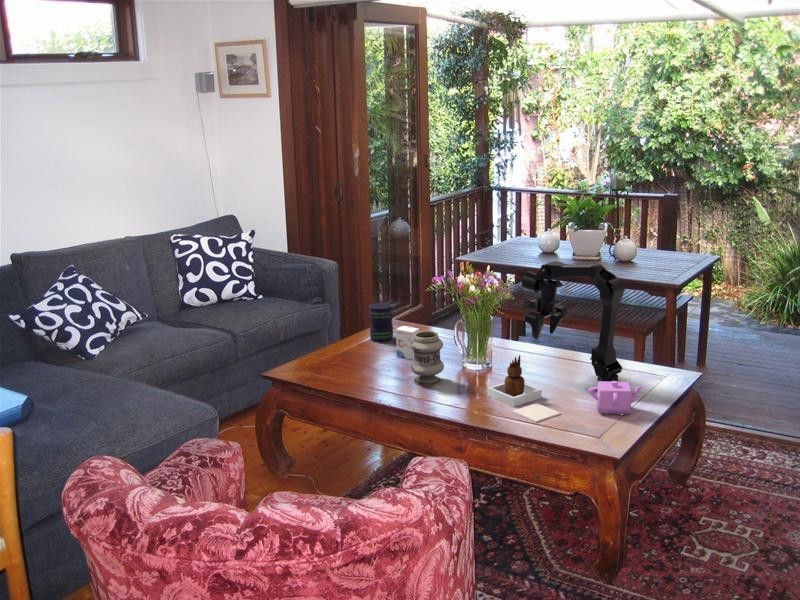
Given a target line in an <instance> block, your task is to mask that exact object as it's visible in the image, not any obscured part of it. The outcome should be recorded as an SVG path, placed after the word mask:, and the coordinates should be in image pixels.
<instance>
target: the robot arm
mask: <svg viewBox="0 0 800 600" xmlns="http://www.w3.org/2000/svg"><path fill="white" fill-rule="evenodd" d="M561 277H589V278H590V279H591V280H592V282H593V285H594V287H595V288H596V290H598V291H599V299H600V301H601V303H602V309H601V320H600V327H599V328H600V329H599V337H598V344H597V346H595V347H592V348H591V354H590V355H591V356H590V358H589V360H590V361H591V362H590V363H591V366H592V367H593V370H594V373H595V376H596V377H597V382H596V383H597V386H596V387H598V381H606V382H611V381H617V382H619V375H618V374H621V372H622V370H623V366H622V365H621V364H620V363H619V361H618V359H617V353H616V348H615V347H614V338H615V331H616V322H617V315H618V314H617V312H618V306H619V304H620V302H621V300H622V299H623V296H624V293H625V289H626V285H625V283H624V282H623V281H622V279H619V278H618V277H617V276H616V275H615V274H614V273H613V272H611V271H609V270H607V269H606V268H605V267H604V265H602V264H599V263H596V264H569V263H568V264H566V263H565V262H562V261H559V260H558V261H557V260H554V261H550V262H545V263H543V264H541V266H540V269H539V271H537V272H536V273H535V272H534V271H531V270H527V271H526V274H525V275H524V276H523V278H522V281H521V288H523V289H524V290H527V291H530V292H533V293H539V297H537V298H536V299H525V300H523V304H522V305H523V306H522V307H523V309H524V310H526V311H527V312H528V311H531V312H528V313H526V314H525V315H524V317H523V318H524V319H523V321H524V322H526V324H529V326H530V327H531V330H532V331H531V332H532V333H533V338H534V340H538V339H539V337H540V335H541V332H542V330H543V327H544V321H545V318H549V334H550V335H553V334H554V333H555V331H556V330H557V328H558V326H559V325H560V323H561V322H562V321H563V320H564V319H565V317H566V316H568V309H567V307H566V306H563V305H560V304H558V302H559V299H558V298H557V294H558V293H557V292H558V288H561V287H563V286H564V284H563V283H562V282H561V280H560V279H558V278H561ZM554 279H555V280H554ZM533 310H534V312H533ZM594 391H596V392H597V391H598V390H594Z"/></svg>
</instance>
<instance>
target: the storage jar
mask: <svg viewBox="0 0 800 600" xmlns="http://www.w3.org/2000/svg"><path fill="white" fill-rule="evenodd" d="M368 307H369V309H368V310H369V312H368V313H369V314H368V315H369V319H370V321H369V323H370V327H369V335H370V338H369V339H370V342H372V341H373V342H372V343H375V342H380V343H379V344H383V343H382V342H386V343H389V342H388V341H390V342H392V341H394V326H393V319H394V318H393V317H394V316H393V315H394V314H393V304H392V303H389V302H384V301H383V302H382V301H381V302H374V303H371V304H369V306H368ZM391 340H392V341H391Z"/></svg>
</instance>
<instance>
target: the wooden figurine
mask: <svg viewBox="0 0 800 600" xmlns="http://www.w3.org/2000/svg"><path fill="white" fill-rule="evenodd" d="M511 361H512V362H511ZM511 361H510V363H509V366H508V367H507V369H506V370H507V371H506V372H507V376H506V377H505V378H504V383H505V391H506V392H505V394H508V395H510V396H513V397H515V396H518V395H521V394H524V384H525V383H526V382H525V378H524V377H523V376H522V374H523V368H522V367H521V354H519V355H518V358H517V356H515V357H514V359H512V360H511Z"/></svg>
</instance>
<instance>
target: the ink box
mask: <svg viewBox="0 0 800 600" xmlns="http://www.w3.org/2000/svg"><path fill="white" fill-rule="evenodd" d="M418 332H421V331H420V328H418V327H417V328H416V327H412V326H407V325H402V326H400V327H397V328H395V335H396V336H395V337H396V357H397V356H398V358H401V357H404V358H403V359H406V358H409V359H408V360H411V359H414V350H412V349H411V346H410V344H411V341H412V340H413V339H414V337H415V334H416V333H418Z"/></svg>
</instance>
